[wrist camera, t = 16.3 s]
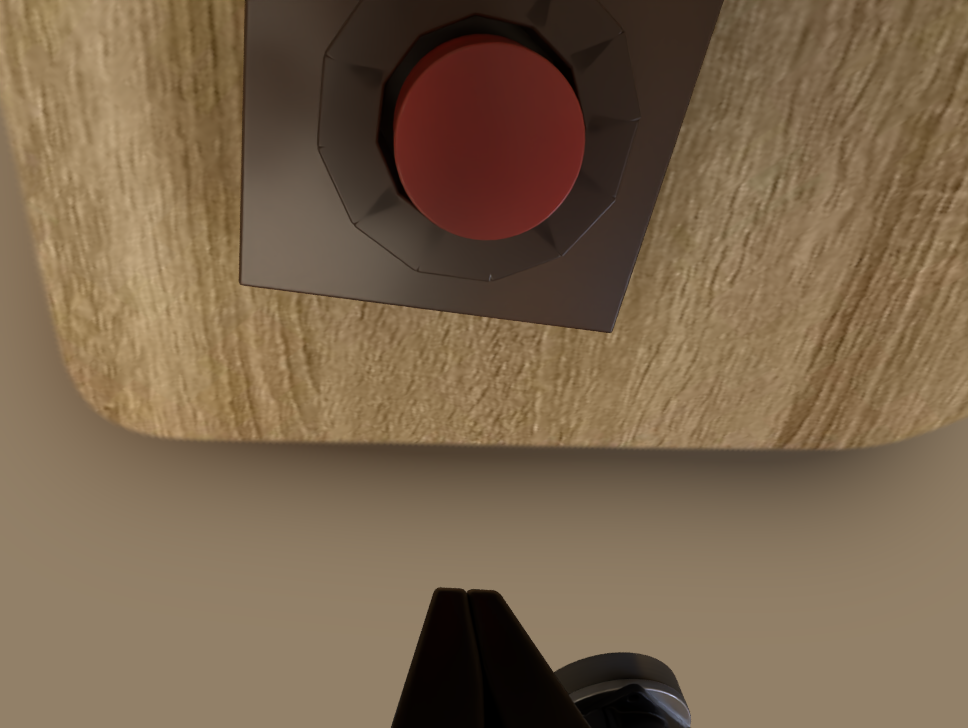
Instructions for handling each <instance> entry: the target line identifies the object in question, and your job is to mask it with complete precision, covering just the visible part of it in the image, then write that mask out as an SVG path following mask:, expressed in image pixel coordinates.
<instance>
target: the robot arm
mask: <svg viewBox="0 0 968 728" xmlns="http://www.w3.org/2000/svg"><path fill="white" fill-rule="evenodd" d="M391 728H690V727H689V726H688V725H687V724H686V723H684V722H683V721H682V720H681V719H680V718H679V717H677V716H676V715H675V714H674V713H673V712H671V711H670V710H669V709H668V708H667V707H665V706H664V705H663V704H662V703H661V702H660V701H658V700H657V699H656V698H655V697H654V696H652V695H651V694H650V693H649V692H648V691H646V690H645V689H644V688H643V687H642V686H640V685H639V684H634V683H633V684H629V685H626V686H624V687H622V688H620V689H619V690H617V691H615V692H613V693H611V694H609V695H608V696H606V697H604V698H602V699H600V700H598V701H597V702H595V703H593V704H591V705H589V706H587V707H586V708H584V709H582V710H580V711H579V709H578V708H577V706H576V705H575V703H574V702H573V700H572V699H571V697H570V696H569V694H568V693H567V692H566V690H565V689H564V687H563V686H562V684H561V683H560V681H559V680H558V678H557V677H556V675H555V674H554V672H553V671H552V669H551V668H550V666H549V665H548V664H547V662H546V661H545V659H544V658H543V656H542V655H541V653H540V652H539V650H538V649H537V647H536V646H535V644H534V643H533V642H532V640H531V639H530V637H529V635H528V634H527V632H526V631H525V630H524V628H523V627H522V625H521V624H520V622H519V621H518V619H517V618H516V616H515V615H514V613H513V612H512V610H511V609H510V607H509V606H508V604H507V603H506V601H505V600H504V599H503V597H502V596H501V594H499V593H498V592H497V591H494V590H480V589H471V590H468V591H467V593H466V591H465V590H463V589H460V588H441V587H440V588H437V589H436V590H435V591H434V593H433V596H432V599H431V603H430V605H429V609H428V612H427V615H426V618H425V621H424V625H423V628H422V631H421V634H420V637H419V640H418V643H417V647H416V650H415V653H414V656H413V659H412V663H411V666H410V669H409V672H408V675H407V678H406V682H405V684H404V688H403V691H402V694H401V697H400V701H399V703H398V707H397V710H396V713H395V716H394V719H393V722H392V726H391Z"/></svg>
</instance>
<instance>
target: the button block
mask: <svg viewBox="0 0 968 728" xmlns="http://www.w3.org/2000/svg"><path fill="white" fill-rule="evenodd" d="M723 1H724V0H245V19H244V65H243V111H242V157H241V203H240V249H239V283H240V284H241V285H244V286H252V287H259V288H267V289H275V290H282V291H290V292H298V293H305V294H313V295H321V296H329V297H336V298H344V299H352V300H359V301H367V302H375V303H382V304H390V305H398V306H406V307H413V308H421V309H429V310H436V311H444V312H452V313H459V314H467V315H475V316H483V317H490V318H498V319H506V320H513V321H521V322H529V323H536V324H544V325H552V326H560V327H567V328H575V329H583V330H590V331H598V332H606V333H611V332H612V331H613V328H614V325H615V322H616V319H617V316H618V313H619V310H620V307H621V304H622V301H623V298H624V295H625V292H626V289H627V286H628V283H629V280H630V278H631V275H632V272H633V269H634V266H635V263H636V260H637V257H638V254H639V251H640V248H641V245H642V242H643V239H644V236H645V233H646V230H647V227H648V224H649V221H650V218H651V215H652V212H653V209H654V206H655V203H656V200H657V197H658V194H659V191H660V188H661V185H662V182H663V179H664V176H665V173H666V170H667V167H668V165H669V162H670V159H671V156H672V153H673V150H674V147H675V144H676V141H677V138H678V135H679V132H680V129H681V126H682V123H683V120H684V117H685V114H686V111H687V108H688V105H689V102H690V99H691V96H692V93H693V90H694V87H695V84H696V81H697V78H698V75H699V72H700V69H701V66H702V63H703V60H704V57H705V55H706V52H707V49H708V46H709V43H710V40H711V37H712V34H713V31H714V28H715V25H716V22H717V19H718V16H719V13H720V10H721V7H722V4H723ZM470 34H492V35H499V36H502V37H506V38H509V39H512V40H514V41H516V42H518V43H520V44H522V45H524V46H526V47H527V48H529V49H531V50H533V51H535V52H536V53H538V54H539V55H541V56H542V57H544V58H546V59H547V60H548V61H550V62H551V63H552V64H553V65H554V66H555V67H556V68H557V69H558V70H559V71H560V72H561V73H562V74H563V76H564V77H565V78H566V79H567V81H568V82H569V84H570V85H571V87H572V89H573V90H574V92H575V95H576V97H577V99H578V101H579V104H580V107H581V111H582V114H583V120H584V126H585V149H584V156H583V161H582V165H581V168H580V171H579V174H578V177H577V179H576V181H575V184H574V186H573V188H572V189H571V191H570V193H569V194H568V196H567V197H566V199H565V200H564V201H563V203H562V204H561V205H560V206H559V207H558V209H557V210H556V211H555V212H553V213H552V214H551V215H550V216H549V217H548V218H547V219H545V220H544V221H543V222H542V223H540V224H539V225H537V226H535V227H534V228H532V229H530V230H528V231H526V232H524V233H521V234H519V235H516V236H512V237H509V238H504V239H498V240H475V239H469V238H464V237H460V236H457V235H455V234H452V233H449V232H447V231H446V230H444V229H442V228H440V227H438V226H437V225H435V224H434V223H432V222H431V221H430V220H428V219H427V218H426V217H425V216H424V215H423V214H422V213H421V212H420V211H419V210H418V209H417V207H416V206H415V205H414V204H413V203H412V201H411V200H410V198H409V196H408V195H407V193H406V191H405V189H404V187H403V185H402V183H401V181H400V178H399V175H398V172H397V168H396V162H395V157H394V138H393V122H394V111H395V106H396V101H397V98H398V95H399V92H400V89H401V87H402V85H403V83H404V81H405V79H406V78H407V76H408V75H409V73H410V72H411V70H412V68H413V67H414V66H415V65H416V64H417V63H418V62H419V60H420V59H421V58H423V57H424V56H425V55H426V54H427V53H428V52H429V51H431V50H432V49H434V48H435V47H437V46H438V45H440V44H442V43H444V42H446V41H448V40H450V39H453V38H457V37H460V36H463V35H470Z"/></svg>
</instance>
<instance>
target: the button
mask: <svg viewBox="0 0 968 728" xmlns="http://www.w3.org/2000/svg"><path fill="white" fill-rule="evenodd" d="M393 138H394V157H395V162H396V168H397V172H398V175H399V178H400V181H401V183H402V185H403V187H404V189H405V191H406V193H407V195H408V196H409V198H410V200H411V201H412V203H413V204H414V205H415V206H416V207H417V209H418V210H419V211H420V212H421V213H422V214H423V215H424V216H425V217H426V218H427V219H428V220H430V221H431V222H432V223H434V224H435V225H437V226H438V227H440V228H442V229H444V230H446V231H447V232H449V233H452V234H455V235H457V236H460V237H464V238H469V239H475V240H498V239H504V238H509V237H512V236H516V235H519V234H521V233H524V232H526V231H528V230H530V229H532V228H534V227H535V226H537V225H539V224H540V223H542V222H543V221H544V220H545V219H547V218H548V217H549V216H550V215H551V214H552V213H553V212H555V211H556V210H557V209H558V207H559V206H560V205H561V204H562V203H563V201H564V200H565V199H566V197H567V196H568V194H569V193H570V191H571V189H572V188H573V186H574V184H575V181H576V179H577V177H578V174H579V171H580V168H581V165H582V161H583V156H584V149H585V126H584V120H583V114H582V111H581V107H580V104H579V101H578V99H577V97H576V95H575V92H574V90H573V89H572V87H571V85H570V84H569V82H568V81H567V79H566V78H565V77H564V76H563V74H562V73H561V72H560V71H559V70H558V69H557V68H556V67H555V66H554V65H553V64H552V63H551V62H550V61H548V60H547V59H546V58H544V57H542V56H541V55H539V54H538V53H536V52H535V51H533V50H531V49H529V48H527V47H526V46H524V45H522V44H520V43H518V42H516V41H514V40H512V39H509V38H506V37H502V36H499V35H492V34H470V35H463V36H460V37H457V38H453V39H450V40H448V41H446V42H444V43H442V44H440V45H438V46H437V47H435V48H434V49H432V50H431V51H429V52H428V53H427V54H426V55H425V56H424V57H423V58H421V59H420V60H419V62H418V63H417V64H416V65H415V66H414V67H413V68H412V70H411V72H410V73H409V75H408V76H407V78H406V79H405V81H404V83H403V85H402V87H401V89H400V92H399V95H398V98H397V101H396V106H395V111H394V122H393Z"/></svg>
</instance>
